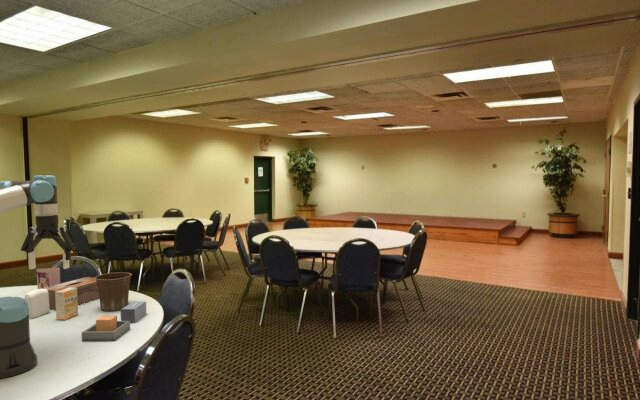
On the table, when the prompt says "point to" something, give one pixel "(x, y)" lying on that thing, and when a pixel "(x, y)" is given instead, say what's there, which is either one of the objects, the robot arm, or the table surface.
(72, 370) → the table surface
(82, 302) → the tissue box cover
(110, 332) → the tray
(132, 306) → the block
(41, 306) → the photo printer
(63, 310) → the supplement box
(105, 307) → the plant pot
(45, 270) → the pink box
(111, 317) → the stub
